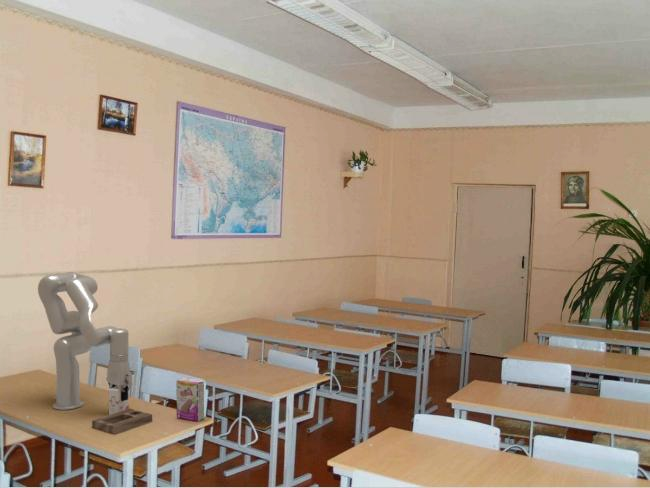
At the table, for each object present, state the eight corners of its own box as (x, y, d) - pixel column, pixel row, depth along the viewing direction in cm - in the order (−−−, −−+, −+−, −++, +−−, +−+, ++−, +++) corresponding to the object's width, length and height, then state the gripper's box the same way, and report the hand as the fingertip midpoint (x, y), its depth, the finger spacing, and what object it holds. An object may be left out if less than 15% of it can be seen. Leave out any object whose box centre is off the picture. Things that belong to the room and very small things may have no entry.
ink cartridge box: (119, 410, 281) (119, 377, 280) (129, 411, 280) (129, 378, 279) (108, 416, 272) (108, 382, 272) (118, 417, 271) (119, 383, 270)
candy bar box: (175, 418, 271) (175, 380, 270) (183, 415, 275) (183, 377, 275) (197, 422, 266) (197, 383, 265) (204, 418, 271) (204, 380, 270)
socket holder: (92, 427, 259) (92, 420, 259) (129, 415, 275) (129, 408, 274) (114, 434, 251) (114, 426, 251) (152, 421, 267) (152, 414, 267)
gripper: (98, 356, 276) (98, 397, 277) (125, 362, 267) (125, 404, 268) (113, 353, 283) (113, 393, 284) (139, 359, 273) (139, 400, 274)
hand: (119, 398), depth 276 cm, fingers closed on ink cartridge box, 6 cm apart
